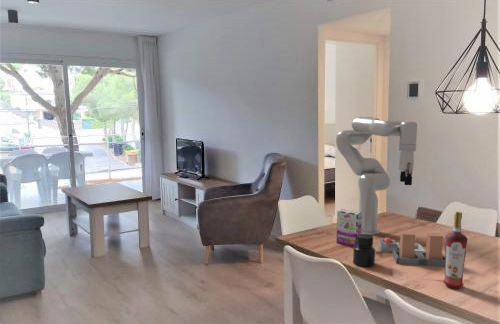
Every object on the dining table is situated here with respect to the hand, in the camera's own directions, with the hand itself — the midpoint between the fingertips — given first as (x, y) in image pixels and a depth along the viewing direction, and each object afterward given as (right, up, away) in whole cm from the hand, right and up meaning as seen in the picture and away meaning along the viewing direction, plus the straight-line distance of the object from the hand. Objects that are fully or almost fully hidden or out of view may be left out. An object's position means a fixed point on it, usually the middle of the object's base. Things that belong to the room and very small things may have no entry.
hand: (405, 183), depth 203 cm
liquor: (+1, -36, -46) cm, 58 cm away
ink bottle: (-26, -33, -23) cm, 48 cm away
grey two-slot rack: (-2, -33, -21) cm, 39 cm away
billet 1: (-7, -32, -20) cm, 39 cm away
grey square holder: (-11, -31, -6) cm, 33 cm away
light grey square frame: (-1, -31, -7) cm, 32 cm away
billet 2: (+4, -32, -22) cm, 39 cm away
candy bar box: (-27, -30, +3) cm, 40 cm away
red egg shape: (-11, -30, -6) cm, 32 cm away
